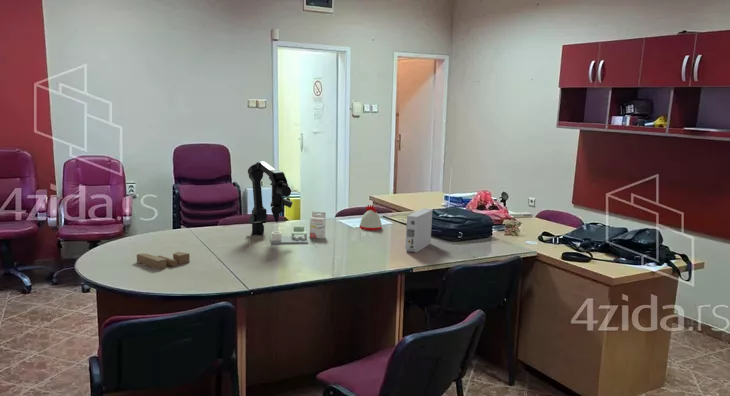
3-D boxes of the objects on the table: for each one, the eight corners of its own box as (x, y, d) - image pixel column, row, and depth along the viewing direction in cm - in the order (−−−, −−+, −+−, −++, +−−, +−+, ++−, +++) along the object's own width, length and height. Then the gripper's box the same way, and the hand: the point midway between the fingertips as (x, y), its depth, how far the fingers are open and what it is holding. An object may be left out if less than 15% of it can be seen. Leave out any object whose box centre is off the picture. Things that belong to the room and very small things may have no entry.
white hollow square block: (272, 240, 300) (272, 233, 299) (271, 238, 305) (271, 231, 304) (281, 240, 301) (281, 233, 300) (280, 238, 306) (281, 231, 305)
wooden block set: (158, 259, 242) (135, 251, 252) (158, 271, 242) (136, 263, 253) (190, 252, 255) (167, 245, 266) (191, 263, 256) (168, 256, 266)
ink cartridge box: (309, 237, 315) (309, 212, 312) (311, 235, 319) (311, 211, 317) (324, 238, 314) (324, 213, 311) (325, 236, 319) (326, 212, 316)
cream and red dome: (368, 224, 357) (369, 202, 355) (385, 228, 349) (386, 205, 347) (355, 228, 346) (356, 204, 344) (373, 231, 338) (374, 207, 336)
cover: (292, 238, 306) (292, 229, 305) (291, 235, 312) (291, 226, 311) (306, 238, 307) (307, 229, 306) (305, 235, 314) (305, 226, 313)
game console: (431, 243, 313) (433, 209, 310) (415, 253, 288) (417, 216, 285) (421, 242, 315) (423, 208, 312) (405, 252, 291) (407, 215, 287)
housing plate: (271, 244, 296) (271, 237, 296) (270, 238, 310) (270, 231, 309) (308, 243, 301) (308, 236, 300) (305, 237, 314) (305, 231, 314)
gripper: (293, 197, 291) (292, 225, 294) (290, 191, 309) (290, 218, 312) (272, 196, 289) (271, 225, 291) (270, 191, 307) (270, 218, 309)
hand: (276, 222), depth 301 cm, fingers closed
